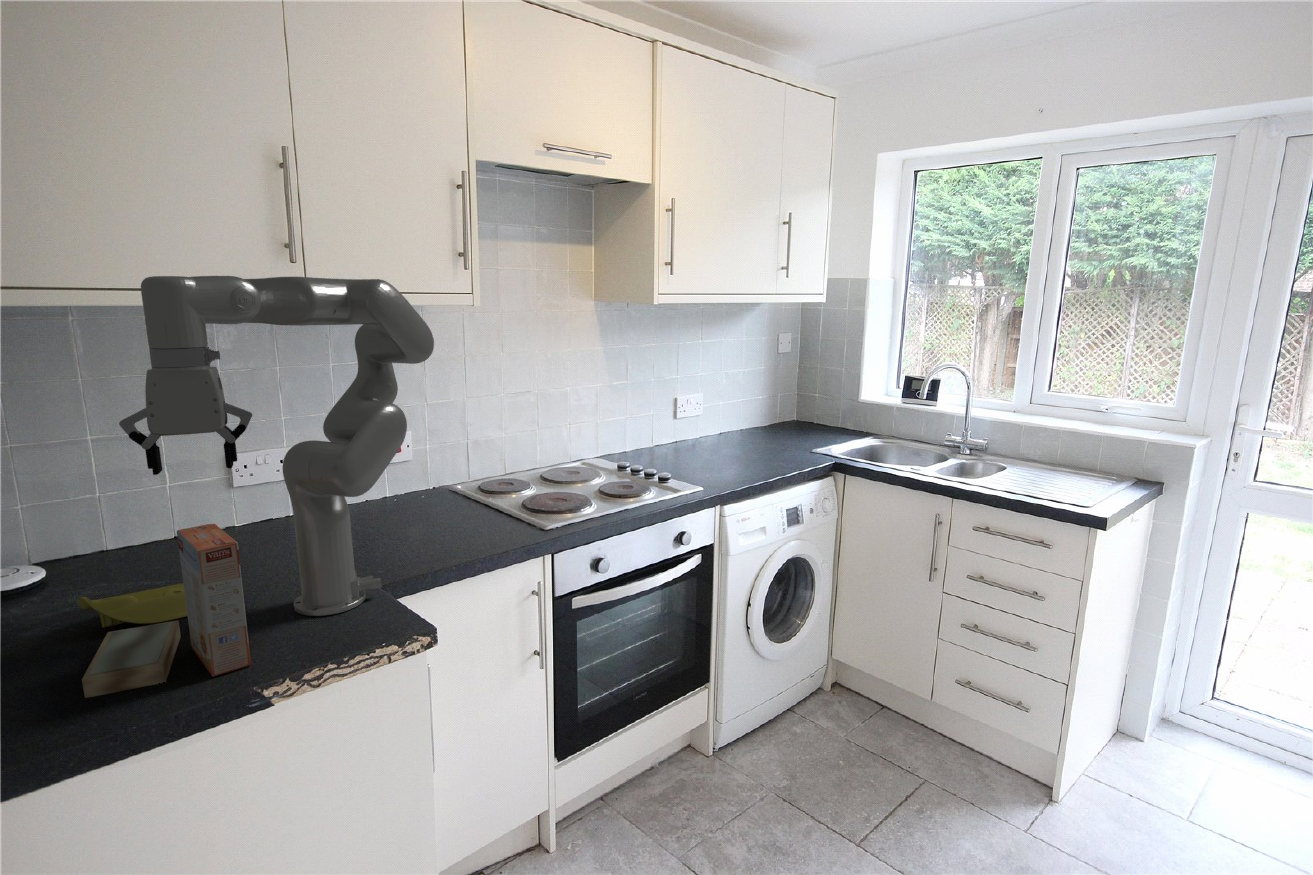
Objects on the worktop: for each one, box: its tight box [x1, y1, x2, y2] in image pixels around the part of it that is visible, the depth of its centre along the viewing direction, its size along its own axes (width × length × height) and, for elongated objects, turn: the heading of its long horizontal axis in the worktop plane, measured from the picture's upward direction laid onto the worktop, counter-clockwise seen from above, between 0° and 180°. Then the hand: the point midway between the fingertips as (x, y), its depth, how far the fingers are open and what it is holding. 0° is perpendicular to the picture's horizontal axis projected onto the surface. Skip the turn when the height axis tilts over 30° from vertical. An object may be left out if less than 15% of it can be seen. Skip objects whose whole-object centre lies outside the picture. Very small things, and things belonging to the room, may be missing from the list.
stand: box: [81, 619, 182, 699], centre depth 117 cm, size 10×17×3 cm, turn 26°
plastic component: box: [76, 582, 188, 628], centre depth 134 cm, size 20×7×10 cm
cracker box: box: [176, 523, 252, 678], centre depth 117 cm, size 14×6×21 cm, turn 43°
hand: (194, 469), depth 113 cm, fingers open, 9 cm apart
